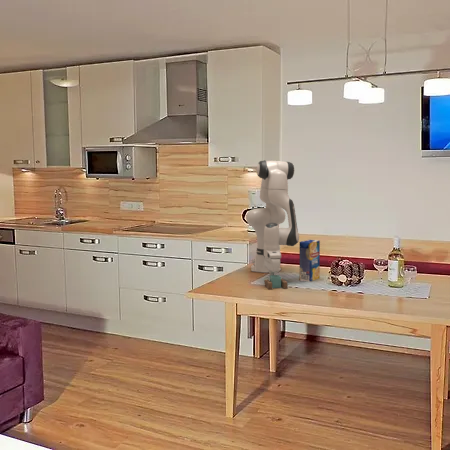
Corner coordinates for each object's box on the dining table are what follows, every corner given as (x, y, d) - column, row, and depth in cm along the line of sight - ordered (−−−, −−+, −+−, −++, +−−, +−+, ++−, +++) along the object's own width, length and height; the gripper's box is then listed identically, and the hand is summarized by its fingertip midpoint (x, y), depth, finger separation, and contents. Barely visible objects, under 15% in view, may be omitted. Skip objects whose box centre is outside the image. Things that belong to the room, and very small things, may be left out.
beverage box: (319, 278, 330) (319, 240, 328) (309, 281, 322) (309, 242, 319) (309, 276, 335) (309, 239, 332) (299, 280, 326) (299, 241, 324)
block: (269, 286, 312) (269, 275, 311) (278, 285, 313) (278, 274, 312) (272, 288, 307) (272, 277, 307) (281, 287, 308) (281, 276, 307)
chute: (264, 286, 313) (264, 279, 312) (283, 285, 314) (282, 278, 314) (268, 289, 304) (268, 283, 303) (287, 288, 306) (287, 282, 305)
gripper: (261, 250, 325) (262, 274, 327) (270, 256, 305) (270, 281, 307) (272, 249, 326) (272, 273, 328) (282, 255, 306) (282, 280, 308)
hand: (271, 277), depth 317 cm, fingers closed
